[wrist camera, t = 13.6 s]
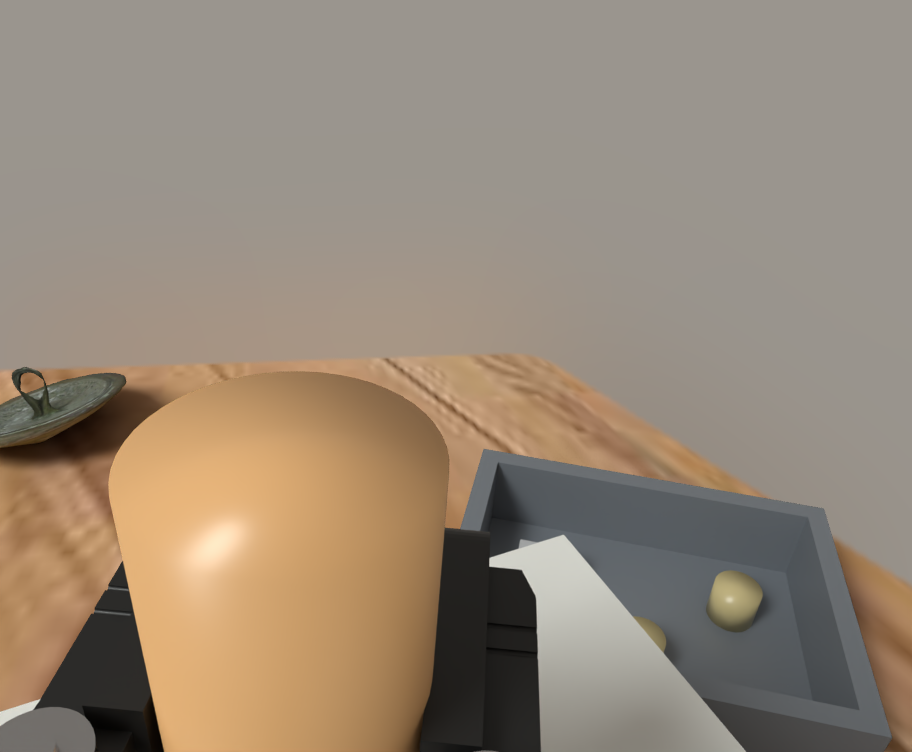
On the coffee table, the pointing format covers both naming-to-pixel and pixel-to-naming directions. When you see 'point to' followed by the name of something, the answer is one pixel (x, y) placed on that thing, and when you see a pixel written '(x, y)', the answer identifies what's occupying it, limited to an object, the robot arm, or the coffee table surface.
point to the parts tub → (709, 592)
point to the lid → (53, 406)
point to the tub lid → (345, 583)
